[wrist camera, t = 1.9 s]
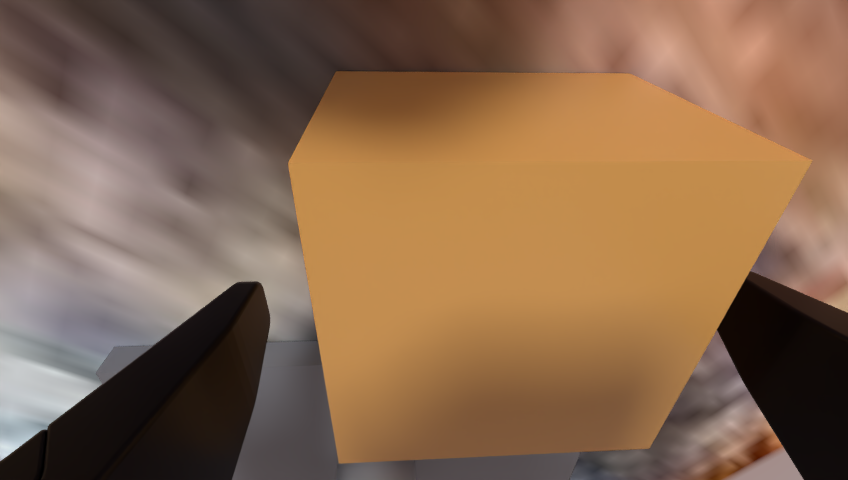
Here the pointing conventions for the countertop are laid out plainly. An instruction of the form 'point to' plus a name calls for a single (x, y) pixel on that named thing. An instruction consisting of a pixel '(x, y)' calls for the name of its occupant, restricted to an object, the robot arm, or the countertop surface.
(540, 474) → the post board
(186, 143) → the countertop surface
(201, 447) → the robot arm
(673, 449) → the countertop surface
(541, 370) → the tan wooden cube
